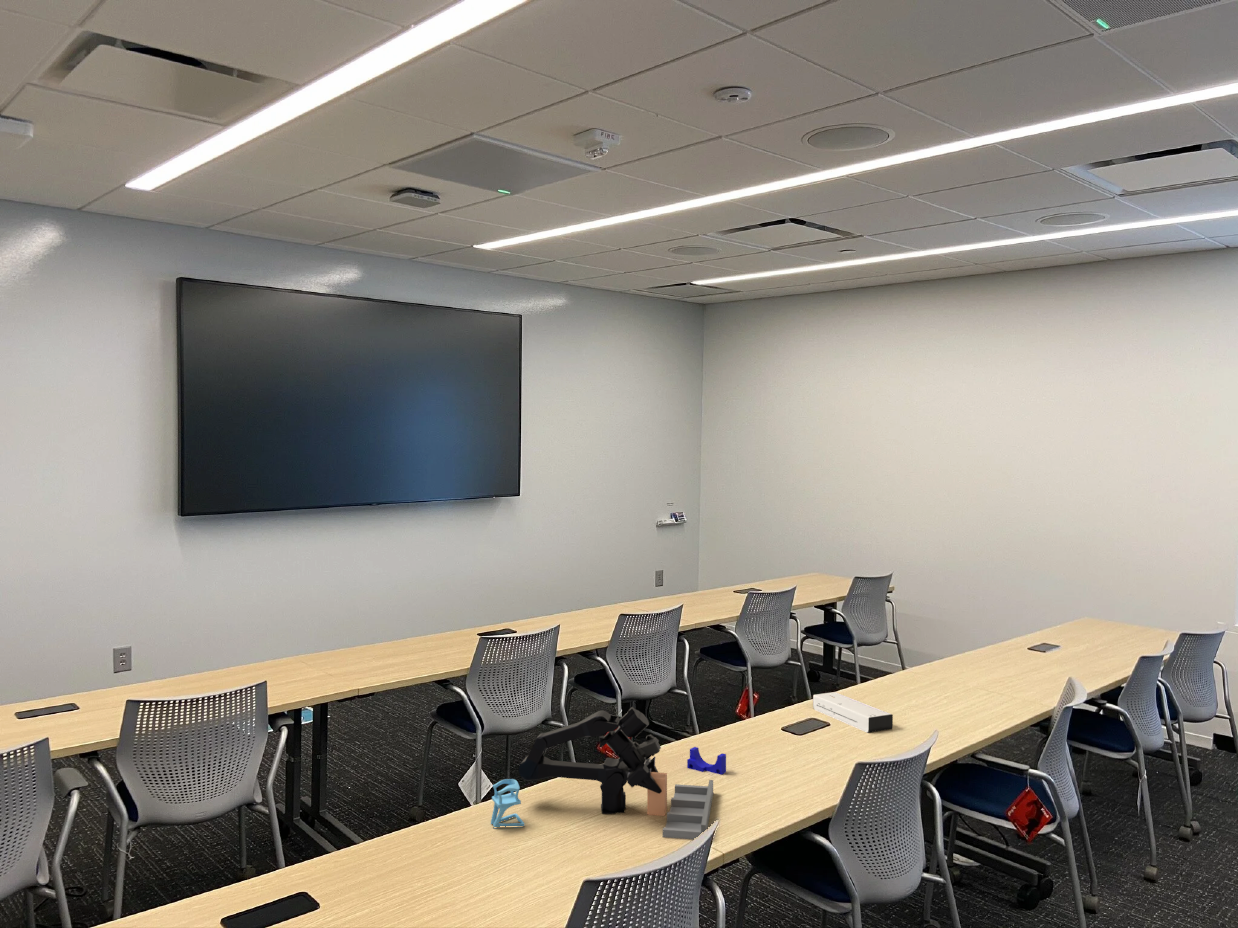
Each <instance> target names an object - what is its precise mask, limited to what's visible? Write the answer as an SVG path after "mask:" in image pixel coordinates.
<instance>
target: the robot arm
mask: <svg viewBox="0 0 1238 928" xmlns="http://www.w3.org/2000/svg"><path fill="white" fill-rule="evenodd" d="M649 725H650V721H649V720H648V718H647V717H646V716H645V714H644V713H643V712H641V711H640V710H638V709H636V708H634V706H631V707H630V708H629V709H628V711H627V713H625V714H624V715H623V716H621V715H614V714H610V713H609V712H608V711H606V710H603V709H602V710H598V711H596V712H595V713H592V714H590V715H588V716H587V717H586V718H584V719H583V720H581V721H578V722H575V723H572V724H570V725H566V726H563V727H560V728H556V729H553V730H550V731H547V732H541V733H540V734H539V735H537V737H536V738H535V739H534V743H533V745H532V747H531V749H530V751H529V753H528V754H527V756H526V757H525V758H524V759H523V760H522V762H521V763H520V764H519V766H518V773H519V776H520V777H521V778H522V780H524V781H540V780H543V779H546V778H562V779H563V778H564V779H575V780H576V779H577V780H585V781H586V780H587V781H589V780H590V781H597V782H599V783H600V786H599V788H600V791H601V804H600V809H601V814H602V815H610V814H611V815H614V814H625V810H626V808H627V807H626V806H627V805H626V803H627V802H626V801H627V800H626V798H627V797H626V791H625V789H624V786H625V785H626V784H628V785H629V786H630V787H631V788H634V787H635V786H636V787H637V786H638V787H641V788H643V789H646V790H647V789H649V790H651V791H654V792H656V793H659V794H660V793H661V792H662V790H661V788H660V787H659V786H658V784H657V783H656V781H655V780H654V778H653V777H652V776H651V772H659V770H658V769H657V767H656V756H655V755H656V754H659V753H660V751H661V748H662V746H661V745H660V743H659V742H660V740H659V739H658V738H657V737H655V736H654V735H652V734H651V733H650V734H648V735H646V737H645V741H643V742H641V743H640V744H639V743H638V741H632V740H631V738H634V739H635V738H636V737H637V736H638V735H640V734H641V733H642V732H643V731H644V730H645V729H646V728H647V727H648V726H649ZM584 737H585V738H586V737H587V738H588V737H589V738H594V737H595V738H596V737H599V738H598V739H599V740H598V741H599V748H600V749H602V748H603V747H604V746H605V745H607V746H608V747H609V748H610V749H611V750H612V751H613V753H614V754H615V755H617V756H618V758H611V757H606V759H605V760H604V762H602V763H590V762H589V763H588V762H575V761H573V762H572V761H563V760H562V761H561V760H552V759H550V758H549V757H547V756H545V754H546V752H547V750H548V749H549V748H551V747H555V746H557V745H558V746H559V745H560V744H564V743H566V742H567V743H568V742H570V741H573V740H577V739H580V738H584ZM651 757H653V758H652V759H651Z"/></svg>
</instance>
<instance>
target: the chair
mask: <svg viewBox="0 0 1238 928" xmlns="http://www.w3.org/2000/svg"><path fill="white" fill-rule="evenodd" d="M504 784H506V786H505V787H503V788H502V789H500V790H498V791H497V788H499V786H501V785H504ZM492 788H493V790H494V791H493V792H494V795H493V796H491V800H492V801H493V804H494V805H493V810H492V815H491V819H490V825H491V824H493V825H492V827H493V826H494V827H500V826H505V827H506V826H524V827H525V822H524V821H523V819H522V818H521V817H520V816H519V815H518V813H511V814H508V815H506V816H504V814H505V812H506V811H507V810H508V809H509V808H511V807H514V806H517V805H521V804H522V800H521V799H520V798H519V792H520V789H521V788H520V784H519V782H518V781H517V780H516V779H514V778H509V779H508V778H505V779H502V780H500V781H498V782H496V783H495V784H492ZM507 792H509V793H507ZM504 793H506V794H504ZM512 817H516V818H517V819H516V818H515V819H516V820H517V822H513V823H511V822H509V823H508V822H507V823H505V821H504V820H506V821H508V819H509V818H512ZM512 819H513V818H512ZM509 820H510V819H509ZM501 821H504V823H503V822H501ZM499 822H501V823H499ZM519 822H520V823H519Z"/></svg>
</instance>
